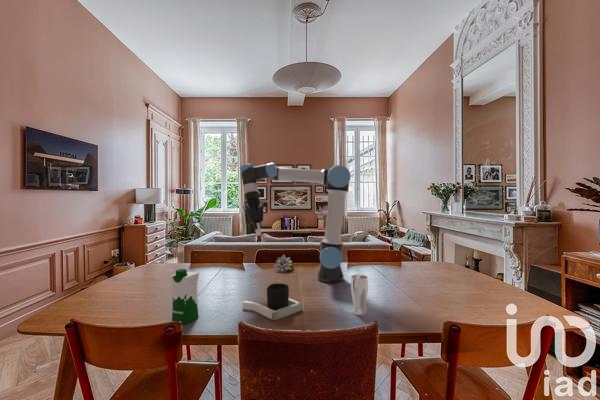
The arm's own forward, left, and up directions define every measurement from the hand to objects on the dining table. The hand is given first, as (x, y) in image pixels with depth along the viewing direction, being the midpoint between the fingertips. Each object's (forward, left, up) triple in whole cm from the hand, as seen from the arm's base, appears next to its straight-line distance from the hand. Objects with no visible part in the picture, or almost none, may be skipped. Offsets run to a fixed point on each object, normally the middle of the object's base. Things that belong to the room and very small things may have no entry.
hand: (258, 235), depth 155 cm
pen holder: (-8, +32, -28) cm, 44 cm away
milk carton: (+29, +36, -28) cm, 54 cm away
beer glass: (-41, +40, -28) cm, 64 cm away
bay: (-6, +31, -28) cm, 42 cm away
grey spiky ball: (-16, -34, -28) cm, 47 cm away
